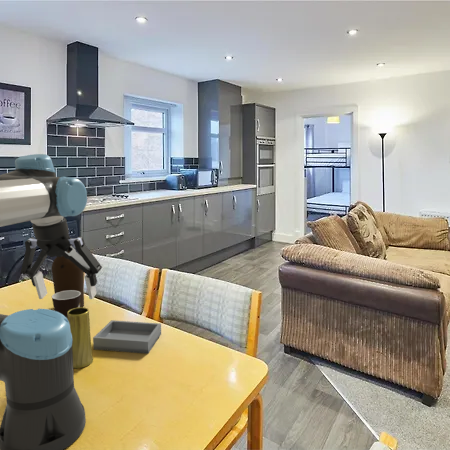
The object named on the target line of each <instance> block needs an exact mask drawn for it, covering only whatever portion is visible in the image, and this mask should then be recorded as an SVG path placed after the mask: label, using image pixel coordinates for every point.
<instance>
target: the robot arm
mask: <svg viewBox="0 0 450 450" xmlns="http://www.w3.org/2000/svg"><path fill="white" fill-rule="evenodd" d="M14 165H15V167H14V168H15V169H14V170H12V171H9V172H6V173H2V174H0V227H1V228H2V227H5V226H11V225H15V224H20V223H24V222H31V224H32V225H31V226H32V230H33V234H34V237H33V236H32V237H30V238H28V239H27V240H25V242H24V245H25V246H24V247H25V250H24V251H25V252H24V256H23V261H22V265H21V269H20V273H21V274H22V275H28V276H29V277H30V280H31V284H32V286H33V287H34V288H35V290H36V292H37V295H38V299H39V300H43V299H44V298H45V297H46V296H47V295H48V291H47V286H46V283H45V279H44V276H43V272H42V271H40V269H41V267H42V265H43V264H44V262H45V260H46V259H47V257H49V258H53V257H62V256H64V257H65V258H66V259H69V260H70V261H72V262H73V263H74V264H75V265H76V266H77V267H79V268H80V269H81V270H82V271H83V272H84V274H85V275H84V281H85V284H86V285H85V286H86V289H87V294H88V298H89V300H93V299H94V298H95V296H96V295H97V289H96V285H97V284H98V279H97V274H99V272H100V271H101V270H102V268H103V267H102V265H101V263H100V262H99V260H98V259H96V257H95V255H94V254H93V253H92V252H91V250H90V249H89V248H88V246H87V245H86V243H85V241H84V237H83V236H81V235H80V236H78V237H77V238H71V237H70V233H69V231H70V230H69V225H68V222H67V218H66V217H77V216H79V215H81V214H82V213H83V212H84V210H85V209H86V206H87V205H88V204H87V202H88V197H87V196H88V191H87V189H86V188H87V187H86V186H85V184H84V183H83V182H82V181H81V180H80V179H78V178H76V177H68V176H57V175H56V173H57V172H56V170H55V166H54V164H53V161H52V158H51V157H50V155H48V154H43V153H35V154H28V155H23V156H19V157H18V158H16V159H15V161H14ZM71 244H72V246H71ZM37 247H38V248H39V249H40V250H41V251H40V253H38V256H37V258H36V260H35V261H34V256H35V252H36V249H37ZM68 250H69V251H70V253H67V252H68ZM33 261H34V263H33ZM72 340H73V339H72V334H71V330H70V324H69V321H68V319H67V318H66V317H65V316H64V315H63V314H61V313H59V312H57V311H54V309H48V308H37V309H33V308H29V309H22V310H18V311H16V312H13V313H11V314H9V315H8V314H2V313H0V381H1V382H3V383H4V388H5V399H6V405H5V409H4V411H3V416H2V420H1V421H0V450H65V449H67V448H68V447H70V446H71V445H72V444H73V443H75V441H76V440H78V439H79V437H80V436H81V434H83V431H84V430H85V427H86V422H87V421H86V420H87V419H86V410H85V407H84V405H83V403H82V401H81V399H80V396H79V395H78V392H77V391H76V388H75V378H74V376H75V375H74V368H73V352H72Z"/></svg>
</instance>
